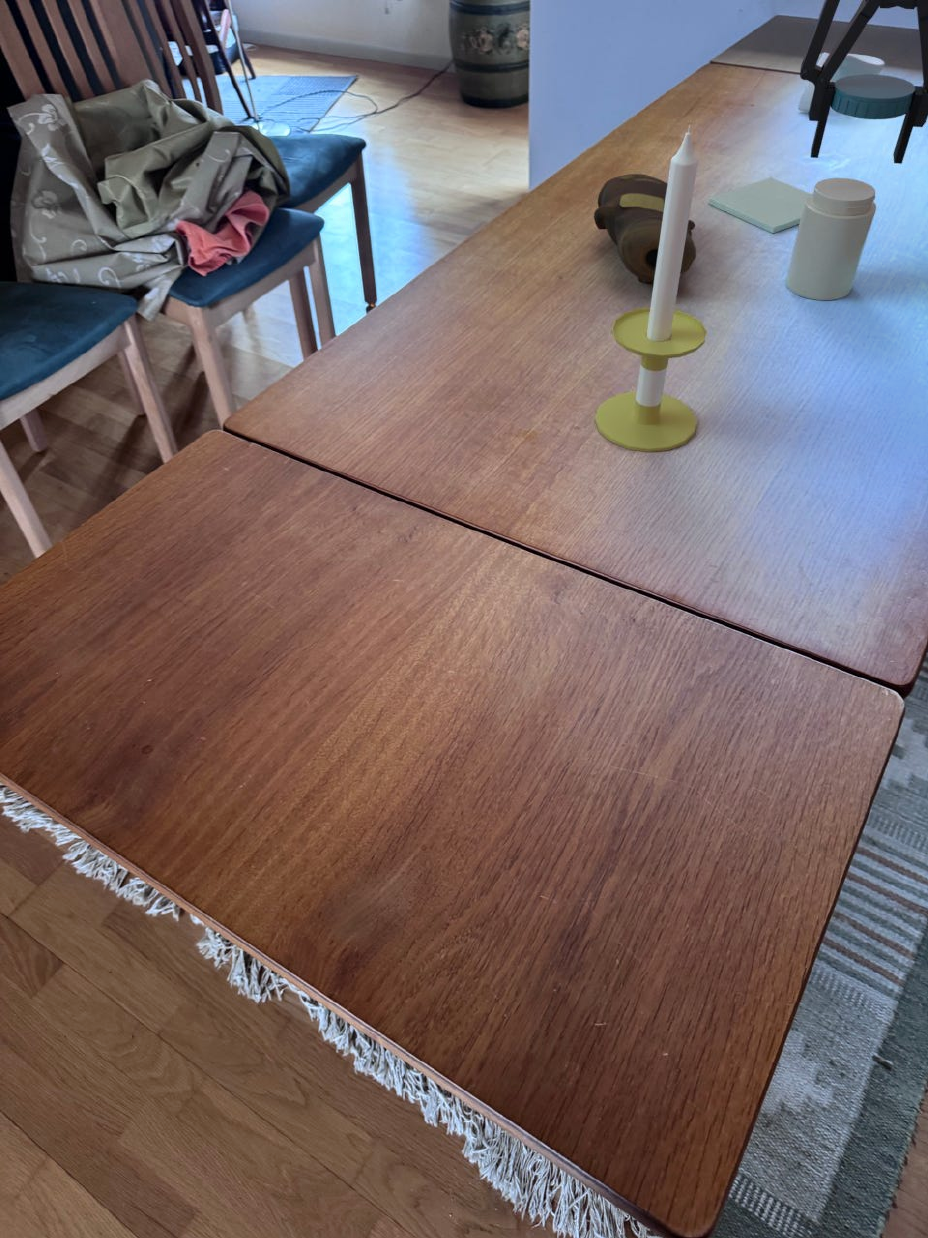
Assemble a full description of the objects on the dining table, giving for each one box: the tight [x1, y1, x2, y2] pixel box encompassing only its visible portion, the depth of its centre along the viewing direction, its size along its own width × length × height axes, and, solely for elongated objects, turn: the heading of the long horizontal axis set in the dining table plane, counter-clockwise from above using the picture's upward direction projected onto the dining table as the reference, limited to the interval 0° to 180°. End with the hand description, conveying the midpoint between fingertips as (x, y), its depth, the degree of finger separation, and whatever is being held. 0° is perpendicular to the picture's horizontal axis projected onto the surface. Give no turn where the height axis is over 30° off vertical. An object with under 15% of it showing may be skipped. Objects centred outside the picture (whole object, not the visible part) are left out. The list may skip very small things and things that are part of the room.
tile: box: [707, 176, 812, 234], centre depth 120 cm, size 12×12×1 cm
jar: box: [784, 177, 877, 301], centre depth 101 cm, size 8×8×11 cm
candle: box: [594, 124, 707, 453], centre depth 77 cm, size 10×10×27 cm
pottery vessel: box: [593, 173, 697, 283], centre depth 107 cm, size 12×20×8 cm, turn 177°
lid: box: [830, 74, 916, 120], centre depth 90 cm, size 8×8×2 cm
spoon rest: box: [797, 52, 886, 113], centre depth 148 cm, size 24×12×7 cm, turn 148°
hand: (855, 155), depth 94 cm, fingers closed on lid, 8 cm apart
